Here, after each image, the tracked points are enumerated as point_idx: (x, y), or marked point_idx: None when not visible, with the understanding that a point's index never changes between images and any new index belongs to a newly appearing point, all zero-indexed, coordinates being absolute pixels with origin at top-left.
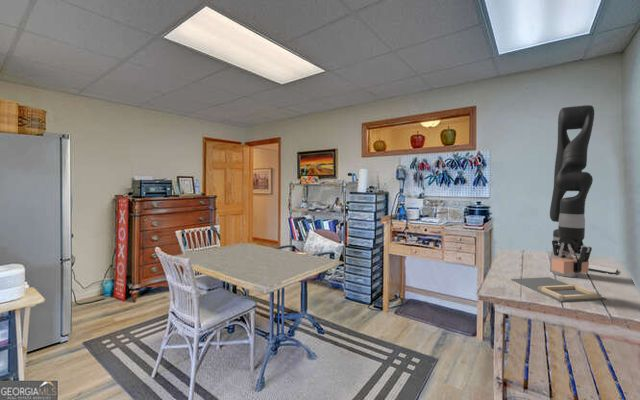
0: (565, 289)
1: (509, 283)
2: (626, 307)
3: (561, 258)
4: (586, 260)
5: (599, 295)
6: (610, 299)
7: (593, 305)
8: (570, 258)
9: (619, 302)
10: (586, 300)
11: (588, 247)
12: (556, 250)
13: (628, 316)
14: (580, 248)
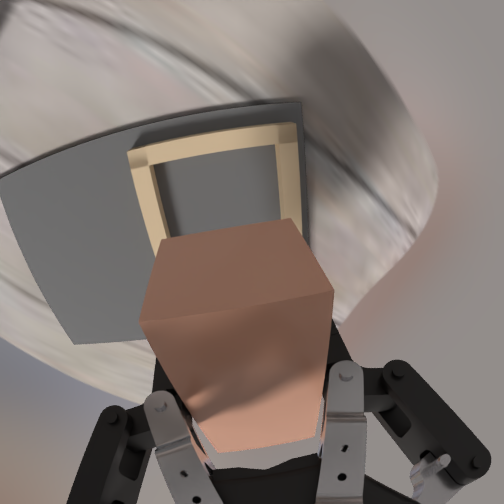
0: (167, 214)
1: (121, 363)
2: (383, 106)
3: (222, 429)
4: (408, 380)
5: (295, 133)
6: (296, 79)
7: (351, 222)
8: (215, 391)
9: (334, 75)
10: (306, 212)
11: (473, 476)
12: (141, 473)
13: (433, 185)
14: (389, 494)
